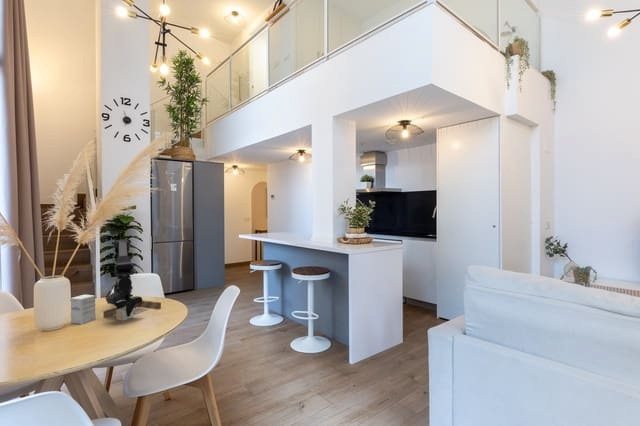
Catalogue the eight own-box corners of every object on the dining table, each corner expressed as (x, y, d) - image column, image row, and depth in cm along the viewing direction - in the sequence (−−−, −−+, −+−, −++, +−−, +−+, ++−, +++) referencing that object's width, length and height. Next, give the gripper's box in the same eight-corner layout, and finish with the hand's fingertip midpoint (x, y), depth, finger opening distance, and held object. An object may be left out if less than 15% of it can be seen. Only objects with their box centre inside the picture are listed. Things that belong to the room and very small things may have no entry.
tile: (124, 312, 168) (124, 312, 168) (137, 308, 175) (137, 307, 175) (134, 314, 165) (134, 313, 165) (147, 309, 173) (147, 309, 173)
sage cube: (116, 319, 158) (116, 309, 158) (125, 316, 162) (125, 306, 162) (123, 320, 156) (123, 310, 156) (132, 317, 161) (132, 307, 161)
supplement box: (70, 323, 153) (69, 297, 153) (85, 318, 160) (85, 294, 160) (81, 324, 151) (80, 298, 151) (96, 319, 158) (95, 294, 158)
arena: (103, 317, 161) (103, 311, 161) (141, 305, 181) (141, 299, 181) (125, 321, 155) (125, 314, 155) (162, 308, 175) (162, 302, 175)
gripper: (95, 288, 155) (96, 319, 155) (122, 290, 148) (122, 323, 148) (117, 283, 165) (117, 312, 165) (142, 285, 159) (143, 315, 159)
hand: (124, 315), depth 159 cm, fingers closed on sage cube, 5 cm apart
